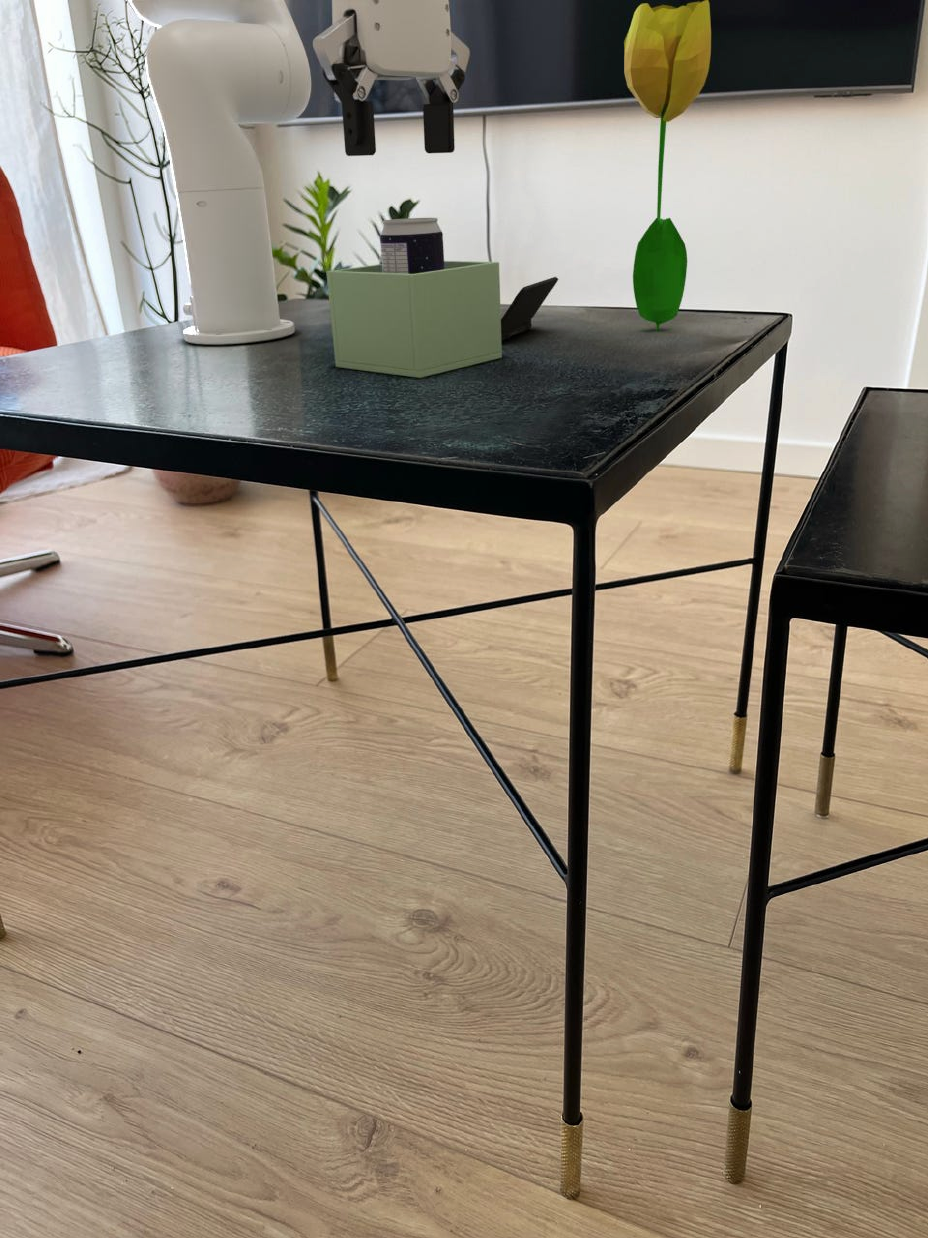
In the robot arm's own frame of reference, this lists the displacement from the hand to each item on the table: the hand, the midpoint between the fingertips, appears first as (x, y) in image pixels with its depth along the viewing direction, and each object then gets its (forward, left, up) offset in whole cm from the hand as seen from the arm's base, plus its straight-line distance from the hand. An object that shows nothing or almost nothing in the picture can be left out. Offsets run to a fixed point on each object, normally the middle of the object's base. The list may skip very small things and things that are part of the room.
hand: (401, 153), depth 86 cm
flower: (+11, +26, -18) cm, 33 cm away
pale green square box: (+1, 0, -18) cm, 18 cm away
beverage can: (+1, 0, -18) cm, 18 cm away
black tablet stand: (-2, +16, -18) cm, 24 cm away
